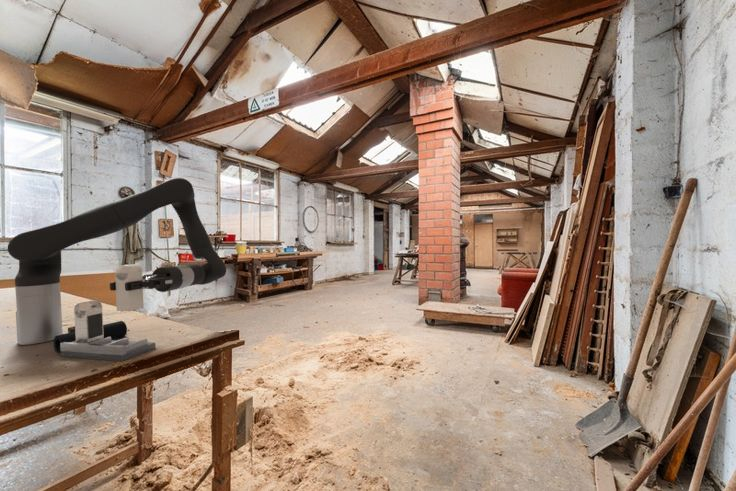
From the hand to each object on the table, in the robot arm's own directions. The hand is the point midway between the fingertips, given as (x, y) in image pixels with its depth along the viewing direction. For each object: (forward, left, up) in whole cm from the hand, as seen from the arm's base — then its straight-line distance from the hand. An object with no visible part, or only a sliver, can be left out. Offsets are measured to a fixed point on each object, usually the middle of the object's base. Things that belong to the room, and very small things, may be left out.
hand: (118, 286), depth 78 cm
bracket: (-6, +1, -18) cm, 19 cm away
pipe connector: (-21, +7, -18) cm, 29 cm away
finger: (0, +3, -7) cm, 7 cm away
